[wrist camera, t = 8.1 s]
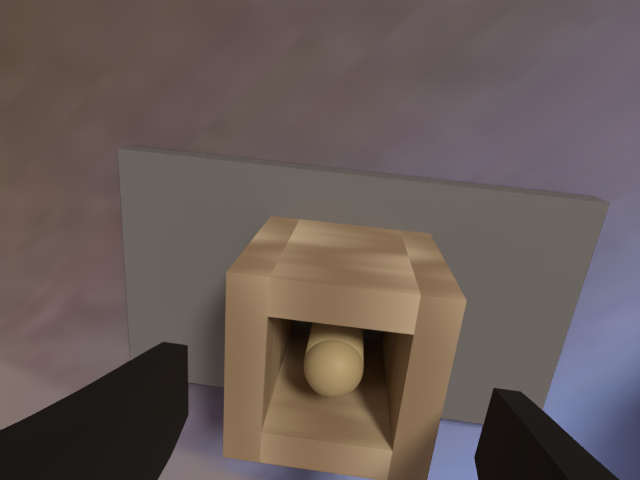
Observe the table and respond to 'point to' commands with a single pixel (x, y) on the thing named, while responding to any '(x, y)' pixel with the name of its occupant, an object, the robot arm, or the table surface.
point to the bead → (344, 310)
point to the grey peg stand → (362, 210)
